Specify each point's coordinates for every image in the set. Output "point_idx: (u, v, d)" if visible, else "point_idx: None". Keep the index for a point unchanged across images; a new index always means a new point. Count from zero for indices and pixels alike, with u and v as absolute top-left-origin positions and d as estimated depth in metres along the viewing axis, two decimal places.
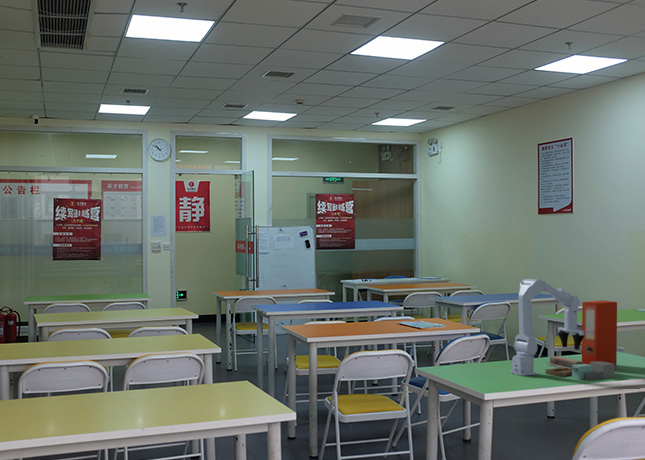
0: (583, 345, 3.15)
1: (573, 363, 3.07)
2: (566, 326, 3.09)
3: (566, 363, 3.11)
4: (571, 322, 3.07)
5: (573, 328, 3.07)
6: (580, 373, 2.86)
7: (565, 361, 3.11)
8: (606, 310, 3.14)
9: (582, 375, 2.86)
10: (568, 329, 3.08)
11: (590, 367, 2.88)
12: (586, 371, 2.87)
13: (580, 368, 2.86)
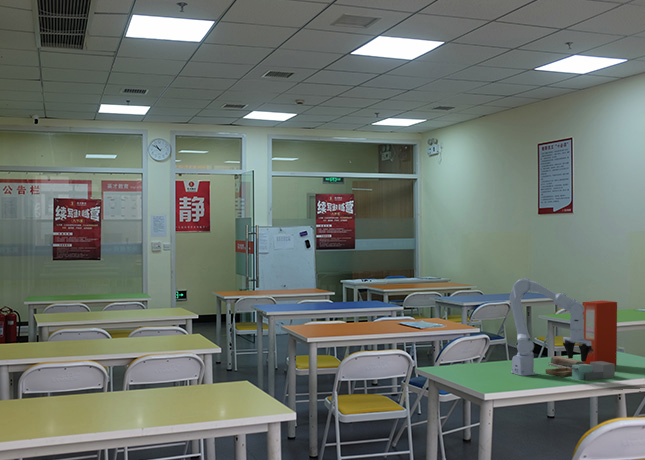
0: None
1: (573, 363, 3.07)
2: (572, 336, 2.87)
3: (566, 363, 3.11)
4: (577, 332, 2.85)
5: (579, 338, 2.85)
6: (580, 372, 2.86)
7: (565, 361, 3.12)
8: (606, 310, 3.14)
9: (582, 375, 2.86)
10: (574, 339, 2.86)
11: (590, 367, 2.88)
12: (586, 371, 2.87)
13: (580, 368, 2.86)
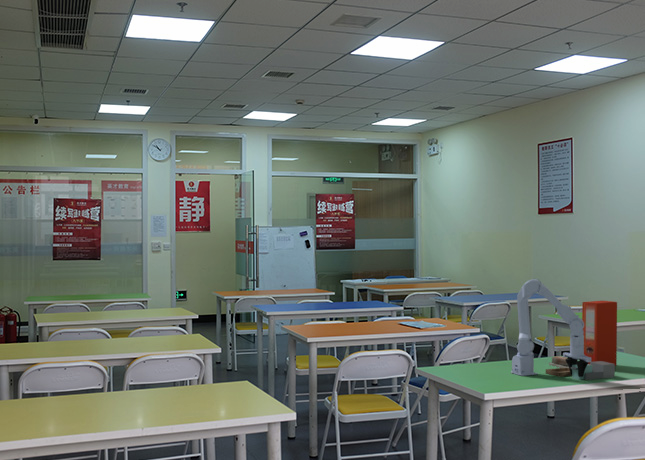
0: None
1: None
2: (572, 352, 2.87)
3: None
4: (577, 348, 2.85)
5: (579, 354, 2.85)
6: None
7: None
8: (606, 310, 3.14)
9: None
10: (574, 355, 2.86)
11: (590, 367, 2.88)
12: (586, 371, 2.87)
13: None
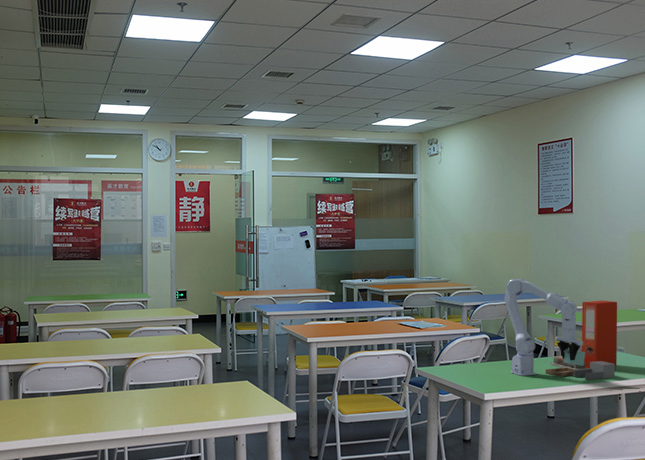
0: (583, 345, 3.15)
1: None
2: (564, 335, 2.86)
3: (567, 363, 3.11)
4: (569, 331, 2.84)
5: (571, 337, 2.84)
6: None
7: None
8: (606, 310, 3.14)
9: None
10: (566, 338, 2.85)
11: (583, 354, 2.88)
12: (578, 357, 2.87)
13: None
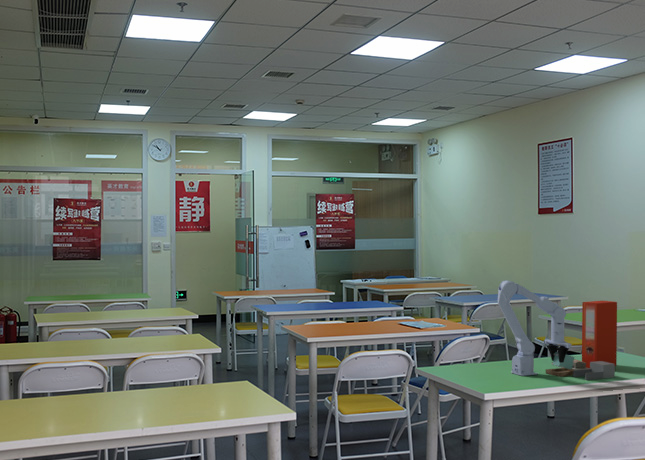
0: (583, 345, 3.15)
1: (573, 363, 3.08)
2: (553, 338, 2.96)
3: None
4: (558, 334, 2.94)
5: (560, 340, 2.94)
6: None
7: None
8: (606, 310, 3.14)
9: (563, 362, 2.96)
10: (555, 341, 2.95)
11: (572, 358, 2.98)
12: (567, 360, 2.97)
13: None
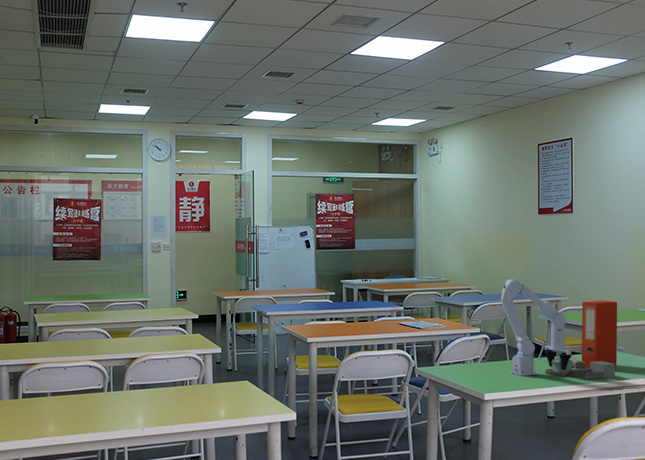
0: (583, 345, 3.15)
1: (573, 363, 3.08)
2: (553, 345, 2.96)
3: None
4: (558, 341, 2.94)
5: (560, 347, 2.94)
6: (560, 367, 2.95)
7: None
8: (606, 310, 3.14)
9: None
10: (555, 348, 2.95)
11: (570, 362, 2.97)
12: None
13: (560, 362, 2.95)
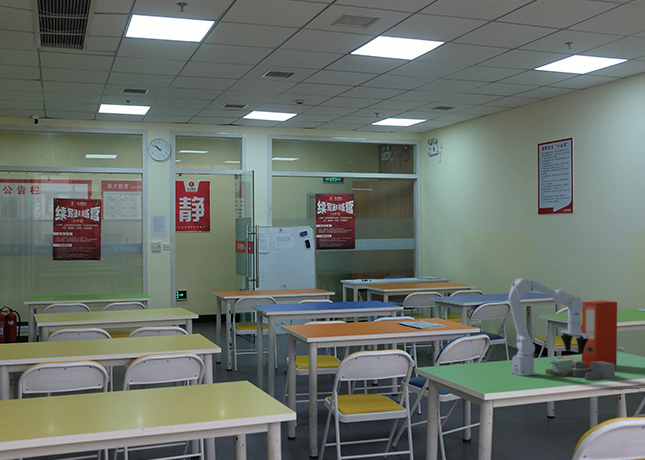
0: None
1: (574, 363, 3.08)
2: (569, 329, 2.96)
3: None
4: (575, 325, 2.95)
5: (577, 331, 2.95)
6: (560, 367, 2.95)
7: None
8: (606, 310, 3.14)
9: (562, 369, 2.95)
10: (572, 332, 2.95)
11: (570, 362, 2.97)
12: (566, 365, 2.96)
13: (560, 362, 2.95)
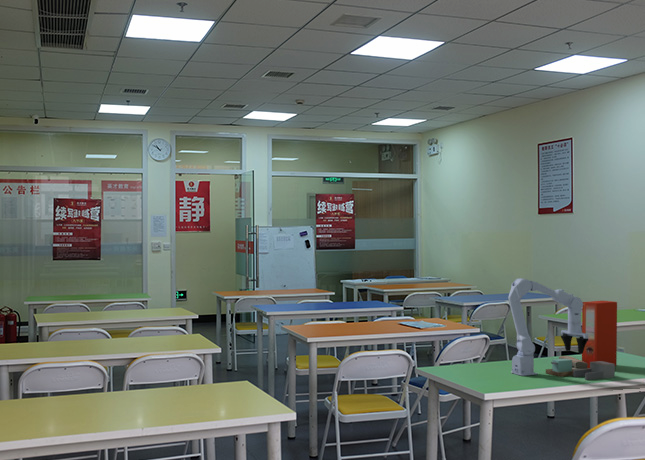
0: None
1: (574, 363, 3.08)
2: (569, 329, 2.96)
3: None
4: (575, 325, 2.95)
5: (577, 331, 2.95)
6: (560, 367, 2.95)
7: None
8: (606, 310, 3.14)
9: (562, 369, 2.95)
10: (572, 332, 2.95)
11: (570, 362, 2.97)
12: (566, 365, 2.96)
13: (560, 362, 2.95)
